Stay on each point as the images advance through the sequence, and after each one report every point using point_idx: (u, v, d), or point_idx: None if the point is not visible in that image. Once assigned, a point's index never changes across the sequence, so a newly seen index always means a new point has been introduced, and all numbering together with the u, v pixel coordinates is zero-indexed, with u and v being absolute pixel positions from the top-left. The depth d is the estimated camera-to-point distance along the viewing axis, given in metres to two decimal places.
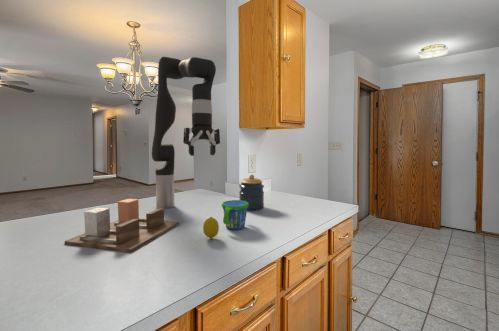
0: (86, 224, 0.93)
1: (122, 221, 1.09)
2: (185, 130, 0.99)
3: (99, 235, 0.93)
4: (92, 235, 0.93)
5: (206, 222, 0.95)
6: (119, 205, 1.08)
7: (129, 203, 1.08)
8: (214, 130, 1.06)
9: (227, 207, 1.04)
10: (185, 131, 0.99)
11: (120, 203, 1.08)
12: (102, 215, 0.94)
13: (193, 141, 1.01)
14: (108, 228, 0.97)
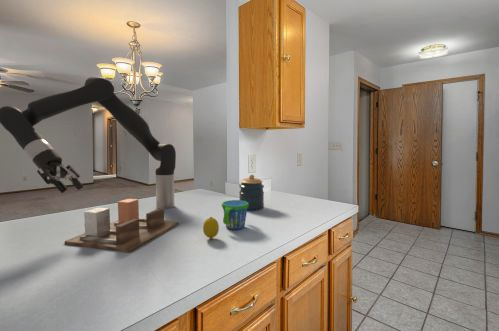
0: (86, 224, 0.93)
1: (122, 221, 1.09)
2: None
3: (99, 235, 0.93)
4: (92, 235, 0.93)
5: (206, 222, 0.95)
6: (119, 205, 1.08)
7: (129, 203, 1.08)
8: None
9: (227, 207, 1.04)
10: None
11: (120, 203, 1.08)
12: (102, 215, 0.94)
13: None
14: (108, 228, 0.97)
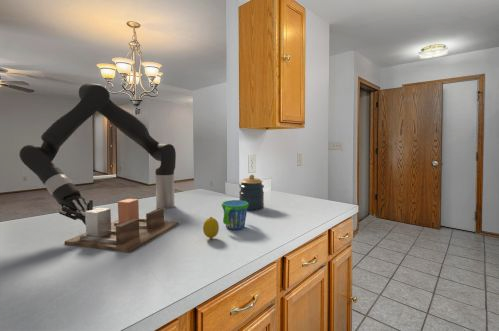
0: (87, 224, 0.93)
1: (122, 221, 1.09)
2: None
3: (100, 235, 0.93)
4: (93, 235, 0.93)
5: (206, 222, 0.95)
6: (119, 205, 1.08)
7: (129, 203, 1.08)
8: None
9: (227, 207, 1.04)
10: None
11: (120, 203, 1.08)
12: (103, 215, 0.94)
13: None
14: (108, 228, 0.97)
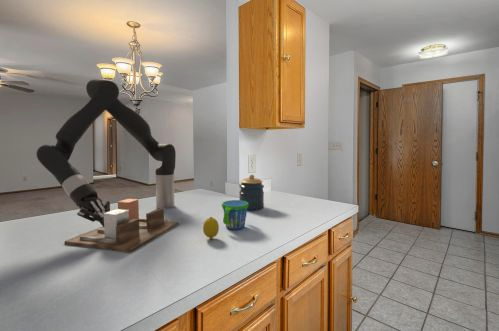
0: (106, 226, 0.91)
1: None
2: None
3: None
4: (112, 237, 0.91)
5: (206, 222, 0.95)
6: (119, 205, 1.08)
7: (129, 203, 1.08)
8: None
9: (227, 207, 1.04)
10: None
11: (120, 203, 1.08)
12: (122, 216, 0.92)
13: None
14: None
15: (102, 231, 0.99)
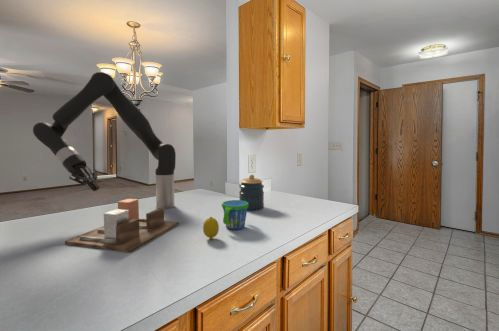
0: (106, 226, 0.91)
1: None
2: None
3: None
4: (112, 237, 0.91)
5: (206, 222, 0.95)
6: (119, 205, 1.08)
7: (129, 203, 1.08)
8: None
9: (227, 207, 1.04)
10: None
11: (120, 203, 1.08)
12: (122, 216, 0.92)
13: None
14: None
15: (102, 231, 0.99)
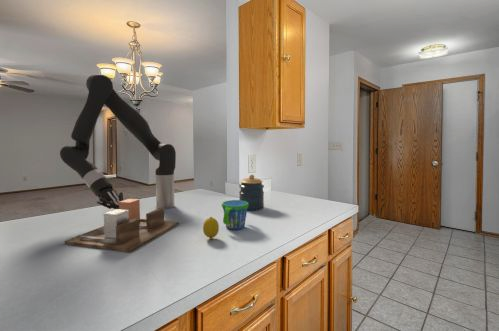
0: (106, 226, 0.91)
1: None
2: None
3: None
4: (112, 237, 0.91)
5: (206, 222, 0.95)
6: (120, 205, 1.08)
7: (130, 203, 1.07)
8: None
9: (227, 207, 1.04)
10: None
11: (121, 203, 1.08)
12: (122, 216, 0.92)
13: None
14: None
15: (102, 231, 0.99)
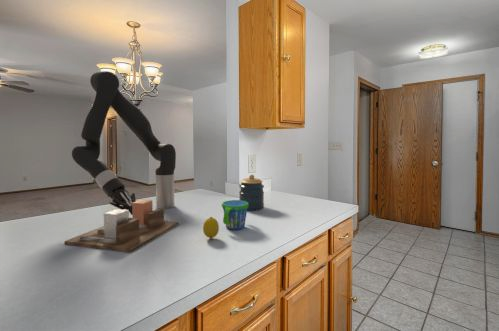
0: (106, 226, 0.91)
1: None
2: None
3: None
4: (112, 237, 0.91)
5: (206, 222, 0.95)
6: (133, 206, 1.07)
7: (144, 204, 1.06)
8: None
9: (227, 207, 1.04)
10: None
11: (134, 204, 1.06)
12: (122, 216, 0.92)
13: None
14: None
15: (102, 231, 0.99)
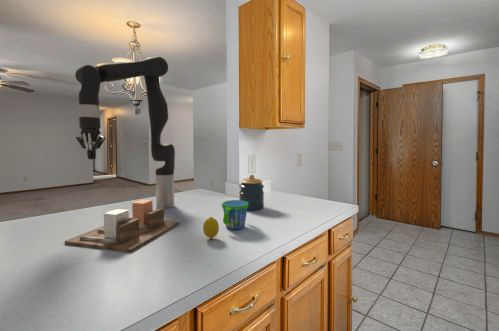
0: (106, 226, 0.91)
1: None
2: None
3: None
4: (112, 237, 0.91)
5: (206, 222, 0.95)
6: (133, 206, 1.07)
7: (144, 204, 1.06)
8: (99, 136, 1.09)
9: (227, 207, 1.04)
10: None
11: (134, 204, 1.06)
12: (122, 216, 0.92)
13: (88, 146, 1.10)
14: None
15: (102, 231, 0.99)
